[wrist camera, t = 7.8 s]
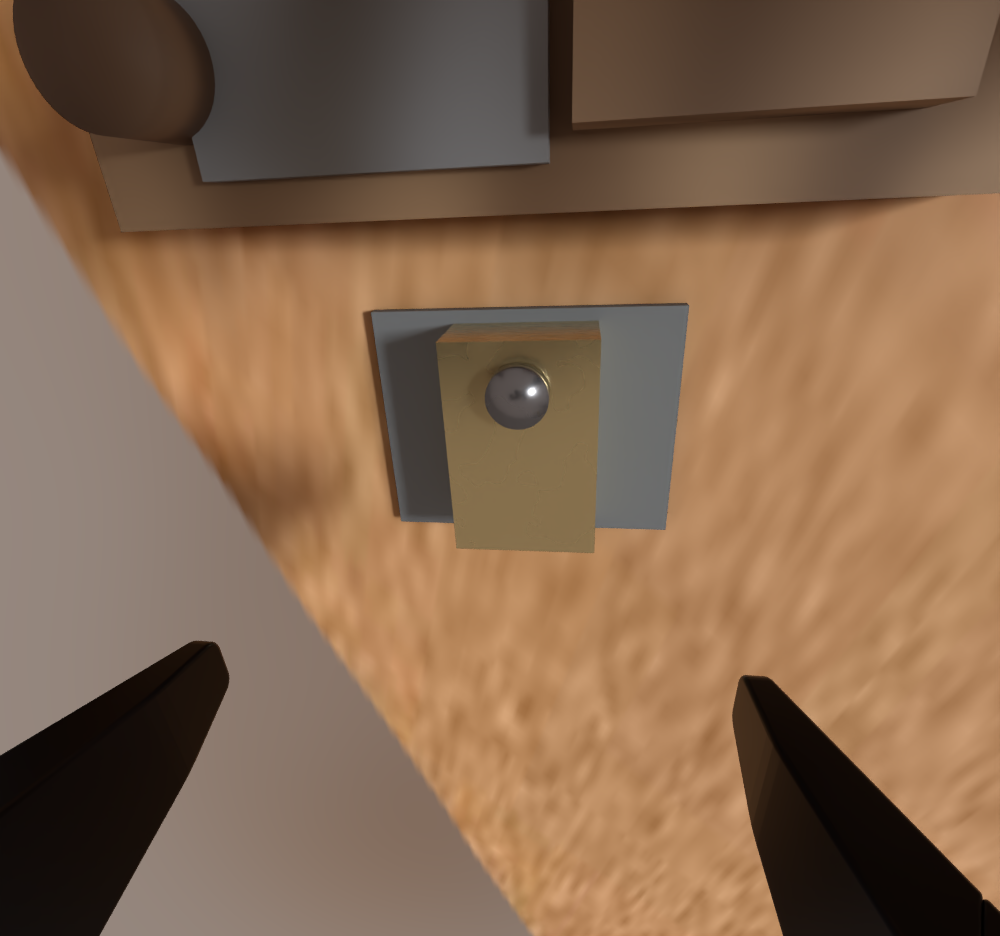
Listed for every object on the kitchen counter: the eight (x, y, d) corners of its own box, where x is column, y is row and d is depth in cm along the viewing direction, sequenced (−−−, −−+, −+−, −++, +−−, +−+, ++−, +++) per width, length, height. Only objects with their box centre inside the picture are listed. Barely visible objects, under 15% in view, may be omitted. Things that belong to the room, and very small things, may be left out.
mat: (686, 303, 17) (688, 305, 17) (663, 524, 20) (665, 529, 20) (374, 309, 18) (370, 312, 18) (404, 515, 22) (401, 521, 21)
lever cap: (592, 513, 20) (594, 564, 17) (469, 510, 21) (452, 558, 18) (598, 320, 17) (602, 344, 14) (453, 323, 18) (430, 348, 15)
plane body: (1068, -142, 12) (1518, -450, 6) (968, 189, 15) (1214, 188, 9) (147, -35, 15) (-120, -176, 9) (213, 224, 18) (39, 239, 12)
